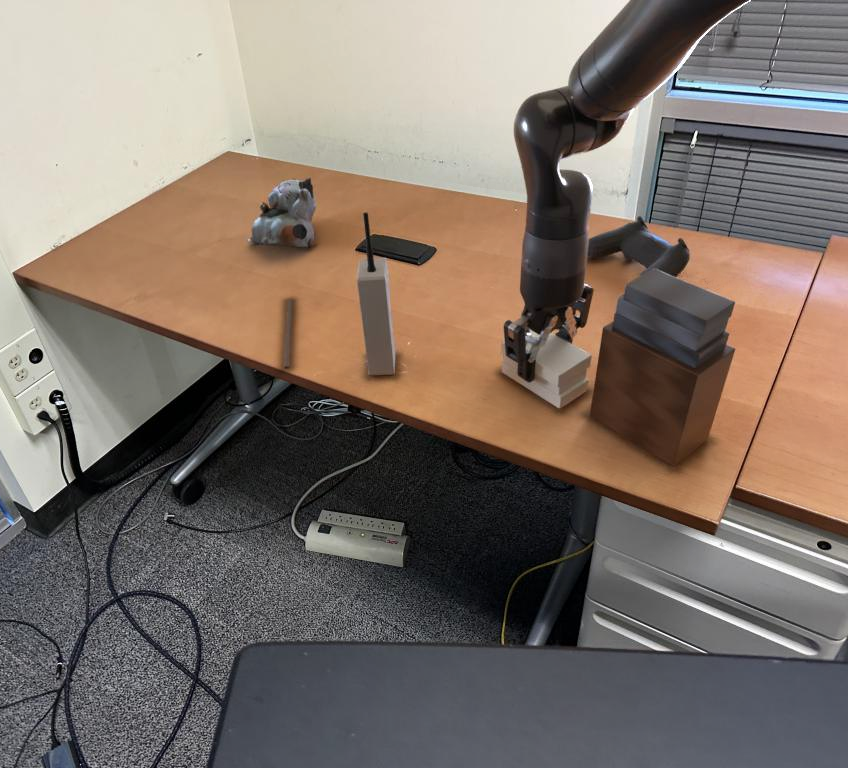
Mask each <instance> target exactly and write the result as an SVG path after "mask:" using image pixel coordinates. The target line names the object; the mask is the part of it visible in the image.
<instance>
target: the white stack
mask: <svg viewBox="0 0 848 768" xmlns="http://www.w3.org/2000/svg"><path fill="white" fill-rule="evenodd" d="M517 368H518V363H517V362H515V361H513V360H512V359H510V358H508V357H507V356H505V355H504V354H502V361H501V373H502V374H504V375H505V376H507V377H509V378H510V379H511V380H513V381H515V382H516V383H518V384H519V385H521V386H523V387H524V388H526V389H527V390H529V391H531V392H532V393H534V394H535V395H537V396H538V397H540V398H542V399H543V400H545V402H548V403H549V404H551V405H552V406H553V407H556V408H558V409H562V408H563V407H565V406H566V405H568V404H570V403H571V402H572V401H574V400H575V399H577V398H579V397H580V396H582V395H583V394H584V393H586V392H588V388H589V382H590V379H589V378H587V373H588V372H587V371H588V368H587V369H586V370H584V371H583V372H581V373H580V374H578V375H576V376H575V377H573V378H572V379H570V380H569V381H567V382H565V383H564V384H562V385H561V386H559V387H556V386H555V385H553V384H551V383H550V382H548V381H546V380H545V379H543V378H541V377H540V376H538V375H537V374H535V379H534V380H533V381H532V382H530V383H528V382H527V381H525V380H524V379H522V378H520V377H519V376H518V374H517Z"/></svg>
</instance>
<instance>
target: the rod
mask: <svg viewBox="0 0 848 768" xmlns="http://www.w3.org/2000/svg"><path fill="white" fill-rule="evenodd" d="M292 302H293V300H292V299H291V298H289V299H287V307H286V309H287V311H286V328H285V329H286V330H285V348H284V349H285V351H284V369H290V357H291V356H290V355H291V354H290V353H291V331H292V330H291V328H292V309H293V308H292V307H293V306H292V305H293V303H292Z"/></svg>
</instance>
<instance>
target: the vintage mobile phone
mask: <svg viewBox="0 0 848 768" xmlns="http://www.w3.org/2000/svg"><path fill="white" fill-rule="evenodd" d="M362 216H363V217H362V218H363V224H364V234H365V235H364V236H365V244H366V246H365V252H366V258H360V259H359V263H358V268H357V269H358V270H357V276H356V277H357V278H356V284H357V291H358V292H357V293H358V302H359V306H360V307H359V308H360V316H361V323H362V331H363V340H364V347H365V356H366V357H365V358H366V363H367V364H366V365H367V371H368V376H393V375H395V369H396V368H395V367H396V346H395V340H394V329H393V318H392V309H391V297H390V296H391V295H390V293H391V292H390V280H389V268H388V259H387V257H375V258H374V249H373V245H372V240H371V239H372V238H371V237H372V236H371V228H370V220H369V212H363V213H362Z"/></svg>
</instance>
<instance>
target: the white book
mask: <svg viewBox="0 0 848 768" xmlns="http://www.w3.org/2000/svg"><path fill="white" fill-rule="evenodd" d="M530 334H531V335H533V336H535V337H537V338H539V334H537V333H535V332H533V331H532V330H531V329H530ZM500 345H501V346H500V349H501V350H500V353H501V354H502V355H503V354H504V355H505V356H506V352H505V339H504V340H501V344H500ZM531 347H532V345H531V343H529V342H528V344H527V346H526V350H528V351H530V349H531ZM592 358H593V355H592V353H590V352H587V351H585V350H583V349H582V348H580V347H579V346H576V345H574V344H573V343H572V344H571V343H569V342H567V341H565V340H564V339H562V338H560V337H558V336H556V334H554V333H553V332H551V333H550V334H549V336H548V339H547V341H546V343H545V345H544V346H543V347H540V349H539V351H538V354H537V356H536V358H535V360H536V364H535V374H537V375H538V376H540V377H541V378H543V379H545V380H546V381H548V382H550V383H551V384H553V385H555V386H556V387H559V386H561V385H562V384H564V383H565V382H567V381H569V380H570V379H572V378H573V377H575V376H576V375H578V374H580V373H581V372H583V371H584V370H586V369H587V370H588V369H589V368H591V365H592Z"/></svg>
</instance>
